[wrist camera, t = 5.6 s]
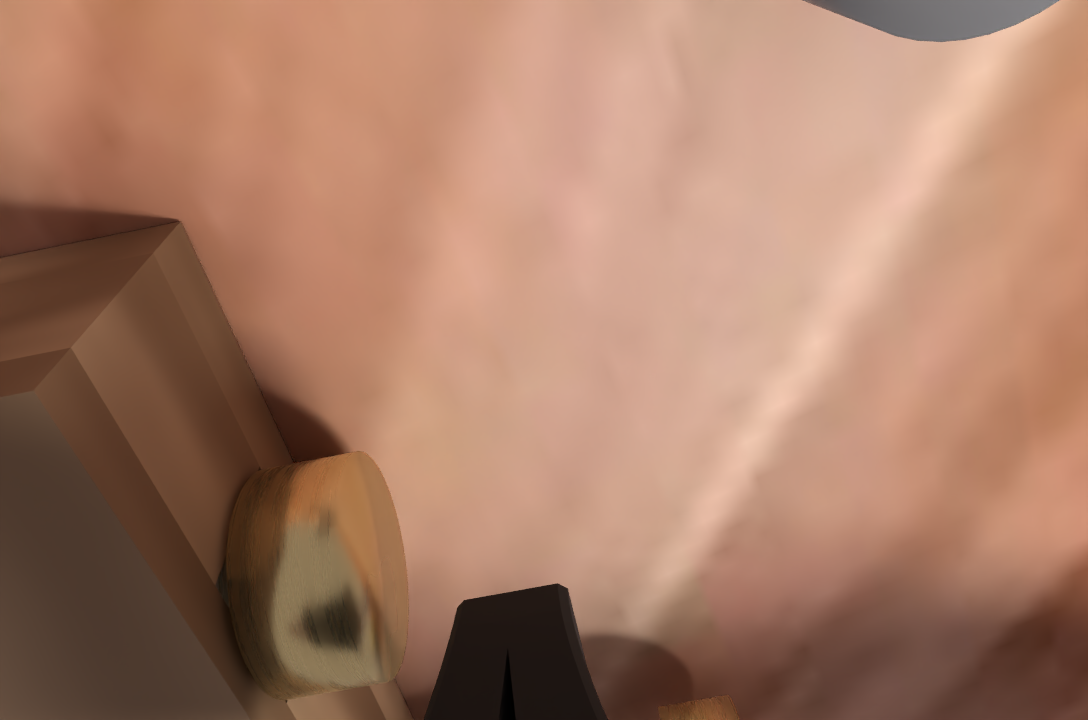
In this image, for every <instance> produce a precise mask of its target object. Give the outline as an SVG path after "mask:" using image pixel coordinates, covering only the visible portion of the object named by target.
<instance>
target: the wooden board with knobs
mask: <svg viewBox="0 0 1088 720" xmlns="http://www.w3.org/2000/svg"><path fill="white" fill-rule="evenodd" d="M289 464H294V462H293V460H292V458H291V456H290V454H289V452H288V450H287V447H286V445H285V443H284V441H283V439H282V437H281V435H280V432H279V430H278V428H277V426H276V424H275V422H274V420H273V418H272V415H271V413H270V411H269V409H268V407H267V405H266V403H265V400H264V398H263V396H262V394H261V392H260V390H259V388H258V385H257V383H256V381H255V379H254V377H253V375H252V373H251V370H250V368H249V366H248V364H247V362H246V360H245V358H244V355H243V353H242V351H241V349H240V347H239V345H238V343H237V340H236V338H235V336H234V334H233V332H232V330H231V328H230V325H229V323H228V321H227V319H226V317H225V315H224V313H223V310H222V308H221V306H220V304H219V302H218V300H217V298H216V295H215V293H214V291H213V289H212V287H211V285H210V283H209V280H208V278H207V276H206V274H205V272H204V270H203V268H202V265H201V263H200V261H199V259H198V257H197V255H196V253H195V250H194V248H193V246H192V244H191V242H190V240H189V238H188V235H187V233H186V231H185V229H184V227H183V225H182V223H181V221H179V222H174V223H170V224H165V225H160V226H155V227H150V228H145V229H140V230H135V231H130V232H125V233H120V234H116V235H111V236H106V237H101V238H96V239H91V240H86V241H81V242H76V243H71V244H66V245H61V246H57V247H52V248H47V249H42V250H37V251H32V252H27V253H22V254H17V255H12V256H7V257H3V258H0V720H413V717H412V715H411V713H410V711H409V709H408V707H407V705H406V702H405V700H404V698H403V696H402V694H401V692H400V690H399V687H398V685H397V683H396V681H395V679H394V678H393V679H392V680H391V681H389V682H386V683H380V684H375V685H369V686H364V687H358V688H352V689H347V690H341V691H336V692H330V693H324V694H319V695H313V696H308V697H302V698H296V699H291V700H276V699H273V698H272V697H270V696H268V695H267V694H266V693H265V692H264V691H263V690H262V689H261V688H260V687H259V686H258V685H257V683H256V682H255V681H254V679H253V678H252V676H251V674H250V672H249V670H248V668H247V667H246V664H245V662H244V659H243V657H242V655H241V652H240V649H239V646H238V643H237V640H236V636H235V632H234V628H233V624H232V619H231V613H230V609H229V607H228V606H227V604H226V602H225V601H224V599H223V597H222V596H221V594H220V593H219V591H218V589H217V588H216V586H215V584H216V582H217V579H218V576H219V574H220V571H221V568H222V566H223V563H224V560H225V558H226V554H227V541H228V533H229V526H230V521H231V516H232V512H233V508H234V505H235V502H236V499H237V497H238V495H239V493H240V490H241V488H242V487H243V485H244V484H245V482H246V481H247V480H248V478H249V477H250V476H251V475H252V474H254V473H255V472H257V471H259V470H263V469H268V468H273V467H278V466H283V465H289Z"/></svg>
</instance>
